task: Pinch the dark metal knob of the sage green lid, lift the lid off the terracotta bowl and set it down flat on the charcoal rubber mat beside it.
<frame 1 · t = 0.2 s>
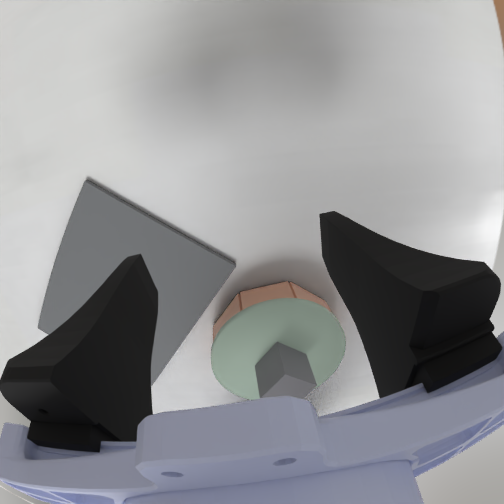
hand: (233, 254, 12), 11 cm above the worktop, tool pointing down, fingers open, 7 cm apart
mat: (120, 299, 25), on the worktop
bowl: (273, 330, 27), on the worktop
lid: (278, 353, 25), point 3 cm above the worktop, touching bowl
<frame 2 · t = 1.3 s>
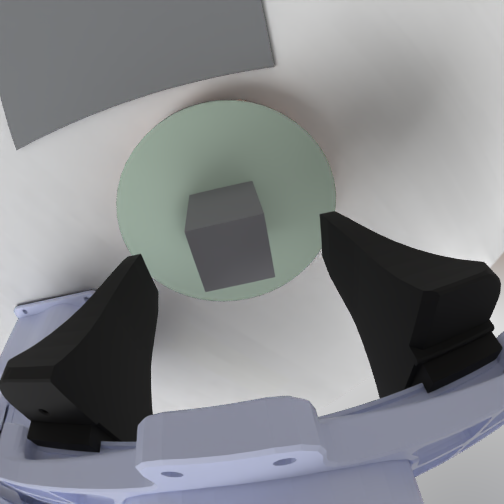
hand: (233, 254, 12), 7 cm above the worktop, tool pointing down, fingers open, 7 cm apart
mat: (105, 0, 11), on the worktop
lid: (226, 208, 16), point 3 cm above the worktop, touching bowl
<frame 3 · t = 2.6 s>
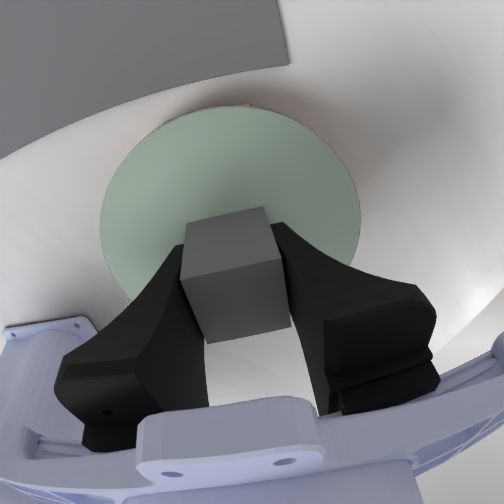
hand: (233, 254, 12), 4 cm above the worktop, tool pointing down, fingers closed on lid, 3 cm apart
lid: (231, 236, 13), point 3 cm above the worktop, touching bowl, gripper
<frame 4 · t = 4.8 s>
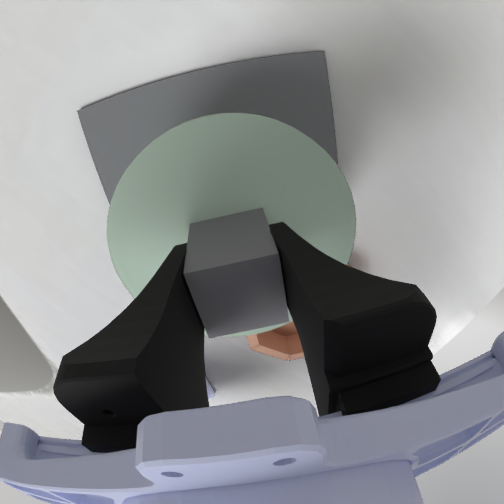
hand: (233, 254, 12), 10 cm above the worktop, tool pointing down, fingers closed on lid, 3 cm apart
mat: (218, 164, 20), on the worktop
bowl: (297, 296, 27), on the worktop
lid: (232, 237, 14), point 8 cm above the worktop, touching gripper
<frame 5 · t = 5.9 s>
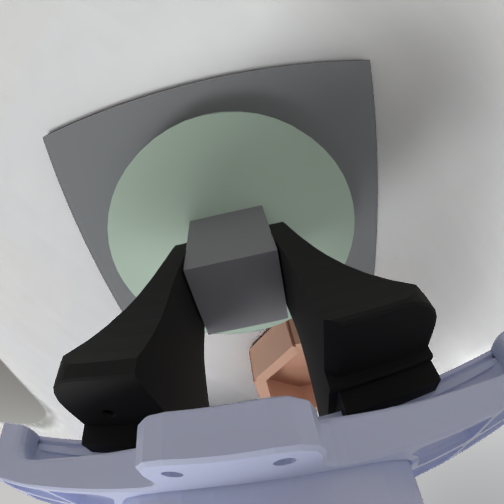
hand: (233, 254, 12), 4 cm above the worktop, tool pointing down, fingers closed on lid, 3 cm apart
mat: (227, 207, 16), on the worktop
bowl: (316, 348, 23), on the worktop
lid: (232, 235, 14), point 2 cm above the worktop, touching gripper
when the fingers open (4 cm above the worktop, at t = 6.8 s): lid stays where it is, resting on mat.
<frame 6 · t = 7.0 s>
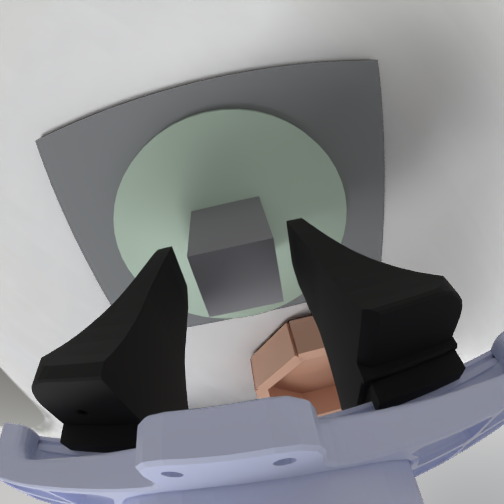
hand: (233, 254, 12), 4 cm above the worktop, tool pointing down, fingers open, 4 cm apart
mat: (228, 213, 15), on the worktop
bowl: (319, 355, 22), on the worktop
lid: (230, 224, 15), point 1 cm above the worktop, touching mat
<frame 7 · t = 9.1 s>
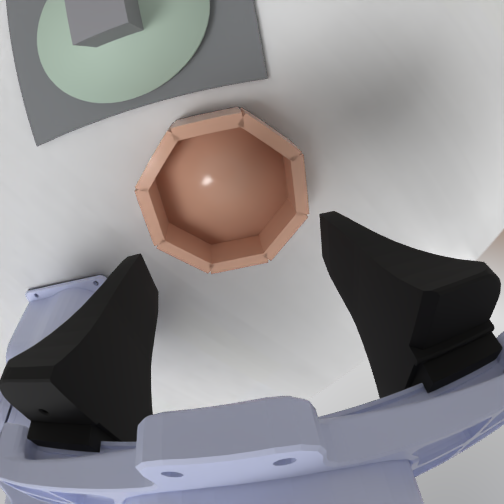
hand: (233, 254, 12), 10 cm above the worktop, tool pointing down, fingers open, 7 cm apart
mat: (120, 15, 14), on the worktop
bowl: (222, 183, 21), on the worktop
lid: (118, 19, 13), resting on mat
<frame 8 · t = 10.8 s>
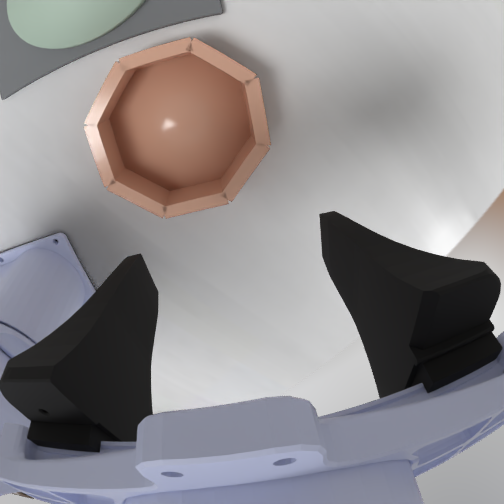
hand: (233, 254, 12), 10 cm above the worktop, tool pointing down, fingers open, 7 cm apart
bowl: (179, 122, 18), on the worktop
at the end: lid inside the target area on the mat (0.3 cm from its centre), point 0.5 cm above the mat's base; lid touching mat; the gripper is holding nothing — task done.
